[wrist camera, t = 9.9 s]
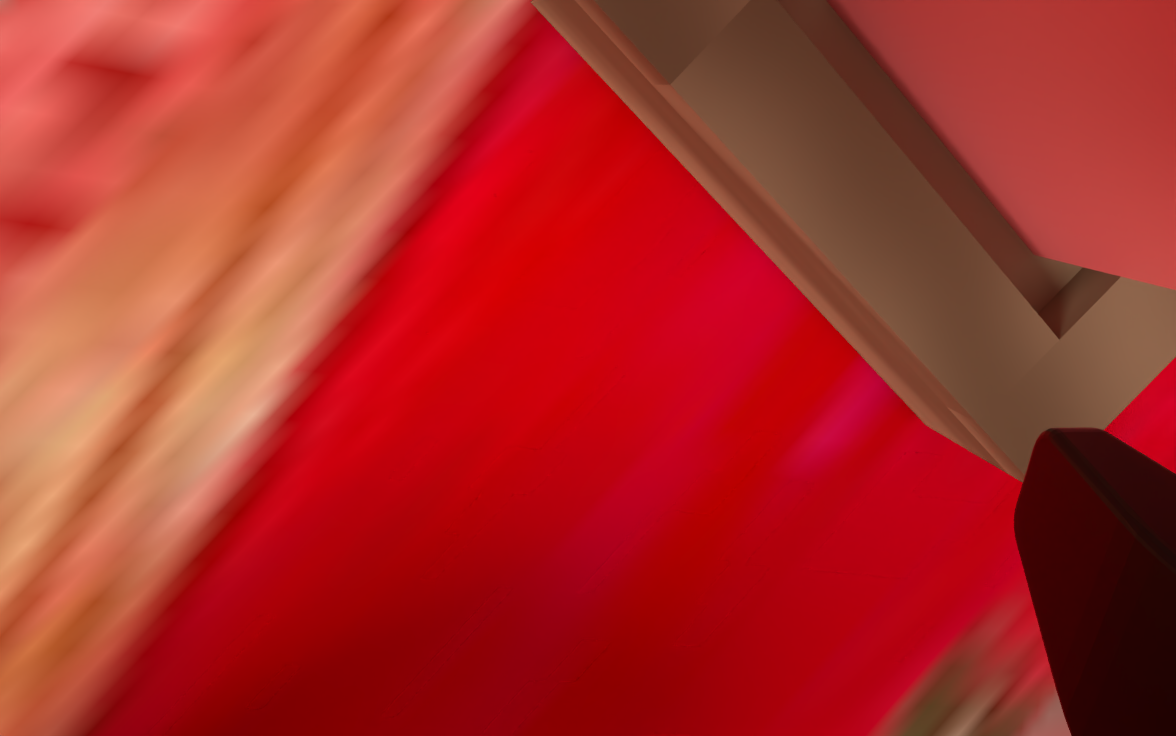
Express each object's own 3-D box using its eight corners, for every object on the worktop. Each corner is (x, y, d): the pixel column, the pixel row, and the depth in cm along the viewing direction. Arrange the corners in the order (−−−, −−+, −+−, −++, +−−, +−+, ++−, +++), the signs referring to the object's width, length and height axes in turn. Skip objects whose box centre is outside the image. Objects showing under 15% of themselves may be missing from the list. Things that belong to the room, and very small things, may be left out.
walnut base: (925, 425, 23) (1040, 493, 19) (530, 1, 19) (576, -20, 15) (1325, 15, 22) (1525, 1, 18) (1007, -507, 18) (1179, -661, 14)
